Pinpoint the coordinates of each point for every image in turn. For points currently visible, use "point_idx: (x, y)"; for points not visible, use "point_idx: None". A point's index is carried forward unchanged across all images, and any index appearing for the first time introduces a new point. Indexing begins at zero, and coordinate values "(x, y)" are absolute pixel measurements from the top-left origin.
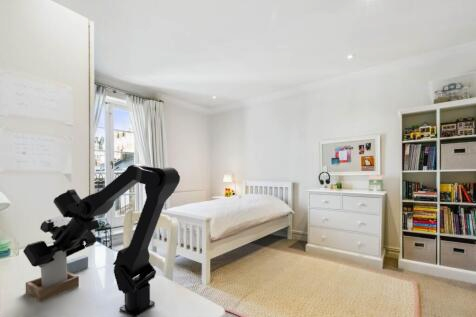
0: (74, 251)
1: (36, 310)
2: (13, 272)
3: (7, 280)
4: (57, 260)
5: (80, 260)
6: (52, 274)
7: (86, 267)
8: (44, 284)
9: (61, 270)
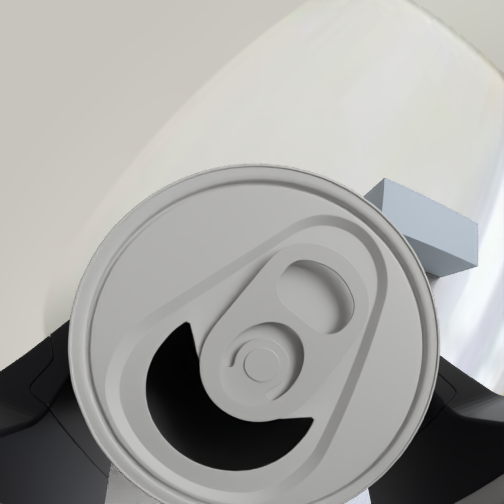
0: (378, 500)
1: None
2: (294, 34)
3: (243, 58)
4: (204, 456)
5: (446, 256)
6: (179, 397)
7: (437, 274)
8: (170, 337)
9: (235, 424)
